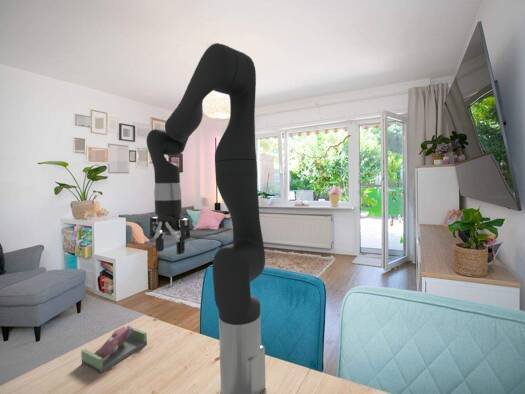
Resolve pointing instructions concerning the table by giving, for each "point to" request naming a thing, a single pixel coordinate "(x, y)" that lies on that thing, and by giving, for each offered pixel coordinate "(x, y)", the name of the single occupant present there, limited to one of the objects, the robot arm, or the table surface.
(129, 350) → the tray
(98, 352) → the video game controller
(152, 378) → the table surface
